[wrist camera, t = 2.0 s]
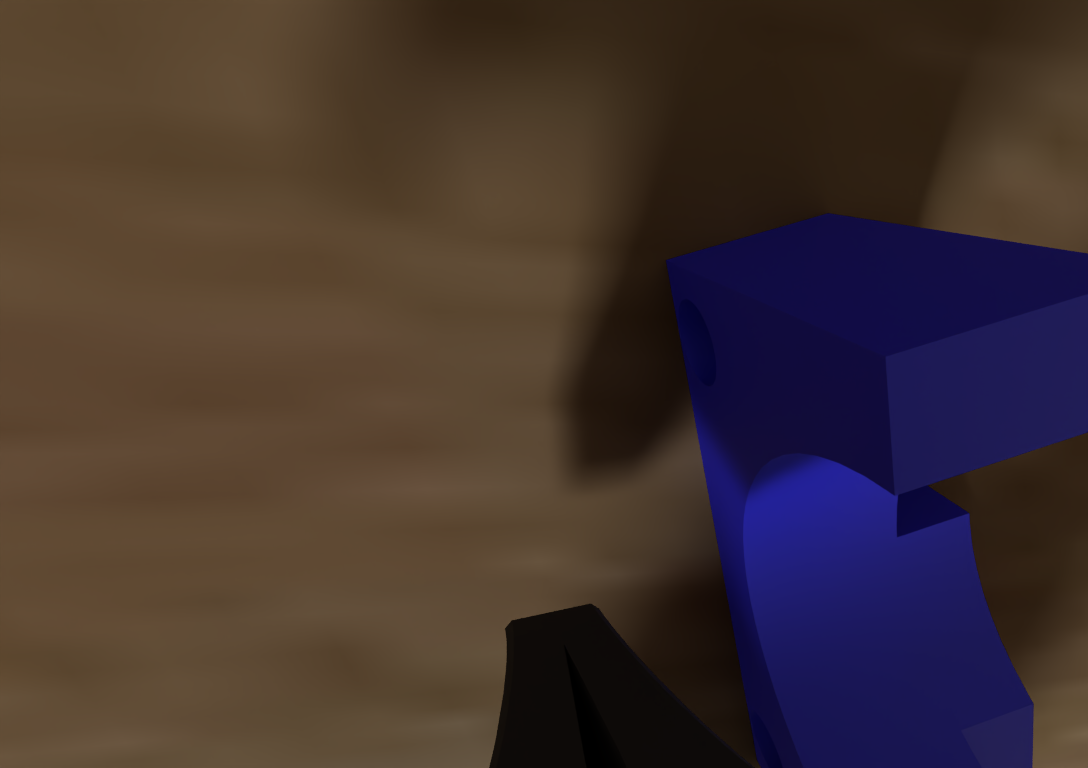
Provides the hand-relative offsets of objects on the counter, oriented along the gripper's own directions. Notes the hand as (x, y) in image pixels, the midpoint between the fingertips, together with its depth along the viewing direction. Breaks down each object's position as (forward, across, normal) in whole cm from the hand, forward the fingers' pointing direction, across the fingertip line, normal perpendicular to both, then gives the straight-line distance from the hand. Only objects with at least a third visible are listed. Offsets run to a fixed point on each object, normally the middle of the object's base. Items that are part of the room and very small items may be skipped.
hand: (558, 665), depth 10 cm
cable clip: (+3, -6, 0) cm, 7 cm away
